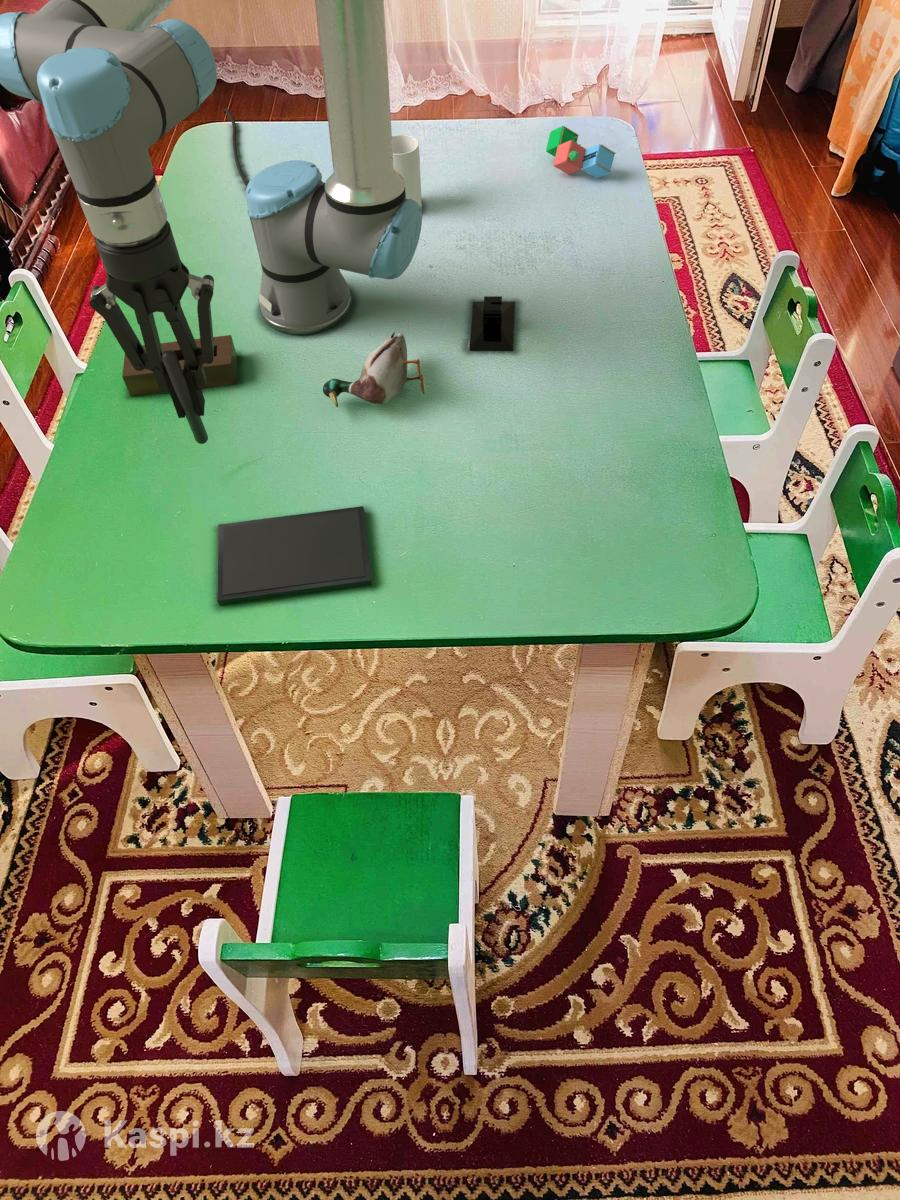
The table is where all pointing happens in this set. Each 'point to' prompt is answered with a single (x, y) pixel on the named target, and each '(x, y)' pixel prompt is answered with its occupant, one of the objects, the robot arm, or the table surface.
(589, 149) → the building blocks
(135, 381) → the pen stand
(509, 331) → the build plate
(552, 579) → the table surface
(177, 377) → the stylus
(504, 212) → the table surface
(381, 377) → the decorative duck model
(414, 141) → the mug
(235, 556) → the tablet
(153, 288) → the robot arm
